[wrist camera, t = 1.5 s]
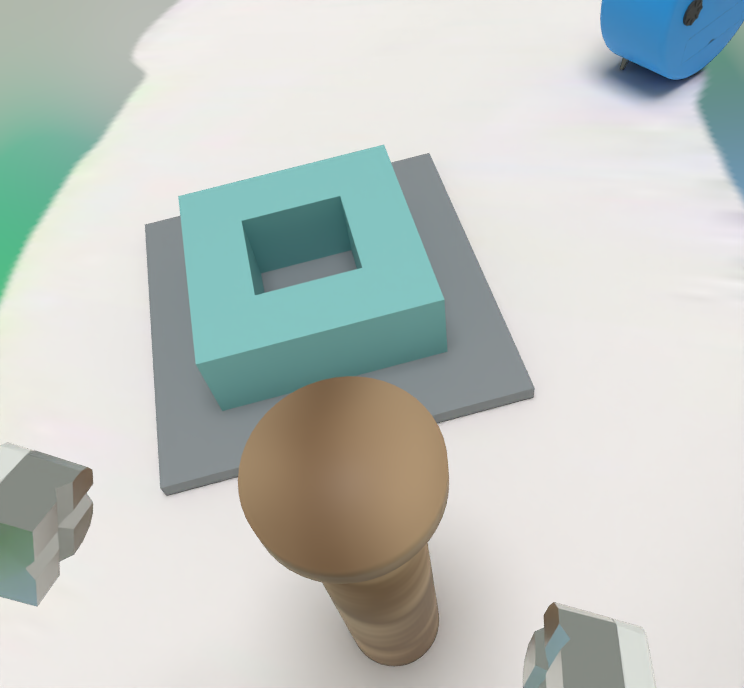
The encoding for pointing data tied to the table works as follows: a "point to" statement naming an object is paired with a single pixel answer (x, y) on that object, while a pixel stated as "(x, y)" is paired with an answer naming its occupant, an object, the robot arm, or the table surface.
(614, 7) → the alarm clock
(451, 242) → the socket board
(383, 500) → the pin
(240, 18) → the table surface
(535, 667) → the robot arm
